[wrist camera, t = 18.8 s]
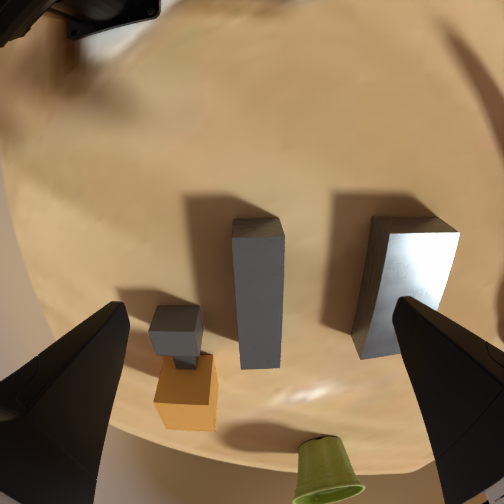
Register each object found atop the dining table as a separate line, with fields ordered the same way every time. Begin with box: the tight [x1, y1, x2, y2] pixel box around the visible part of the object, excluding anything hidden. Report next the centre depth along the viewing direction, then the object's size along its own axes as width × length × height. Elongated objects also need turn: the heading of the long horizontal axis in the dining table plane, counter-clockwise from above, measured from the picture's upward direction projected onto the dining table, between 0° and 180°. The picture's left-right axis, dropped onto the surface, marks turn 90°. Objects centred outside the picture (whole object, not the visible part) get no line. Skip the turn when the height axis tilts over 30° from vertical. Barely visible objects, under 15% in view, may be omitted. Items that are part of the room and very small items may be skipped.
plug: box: [149, 306, 218, 432], centre depth 23 cm, size 4×10×6 cm, turn 2°
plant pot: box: [292, 437, 365, 504], centre depth 31 cm, size 9×9×9 cm
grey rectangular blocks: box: [232, 217, 460, 370], centre depth 21 cm, size 16×11×3 cm
